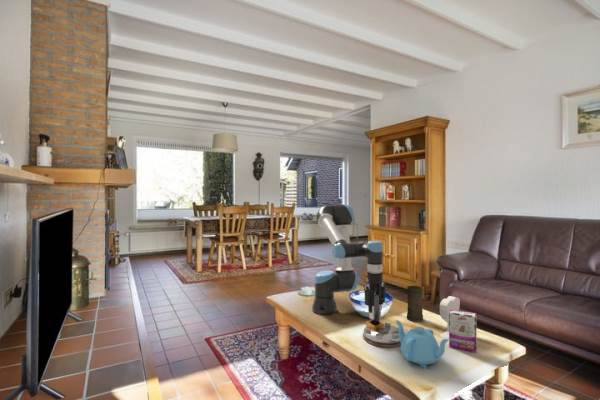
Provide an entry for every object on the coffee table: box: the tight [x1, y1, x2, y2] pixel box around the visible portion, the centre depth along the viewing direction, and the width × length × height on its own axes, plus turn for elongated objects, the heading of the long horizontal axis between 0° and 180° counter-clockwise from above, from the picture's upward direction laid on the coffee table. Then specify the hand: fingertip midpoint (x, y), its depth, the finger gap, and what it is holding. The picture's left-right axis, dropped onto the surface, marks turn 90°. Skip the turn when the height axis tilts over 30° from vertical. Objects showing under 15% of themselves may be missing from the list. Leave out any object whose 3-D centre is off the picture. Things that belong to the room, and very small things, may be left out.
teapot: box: [395, 319, 450, 369], centre depth 139 cm, size 16×20×14 cm
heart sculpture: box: [439, 295, 461, 339], centre depth 166 cm, size 16×5×18 cm, turn 132°
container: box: [406, 285, 424, 323], centre depth 185 cm, size 9×9×18 cm
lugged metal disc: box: [363, 319, 400, 345], centre depth 161 cm, size 19×19×4 cm
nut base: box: [362, 332, 401, 349], centre depth 161 cm, size 20×20×1 cm
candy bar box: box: [448, 310, 478, 353], centre depth 150 cm, size 11×5×16 cm, turn 59°
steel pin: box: [370, 292, 380, 325], centre depth 166 cm, size 4×4×16 cm
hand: (375, 317), depth 166 cm, fingers closed on steel pin, 4 cm apart
